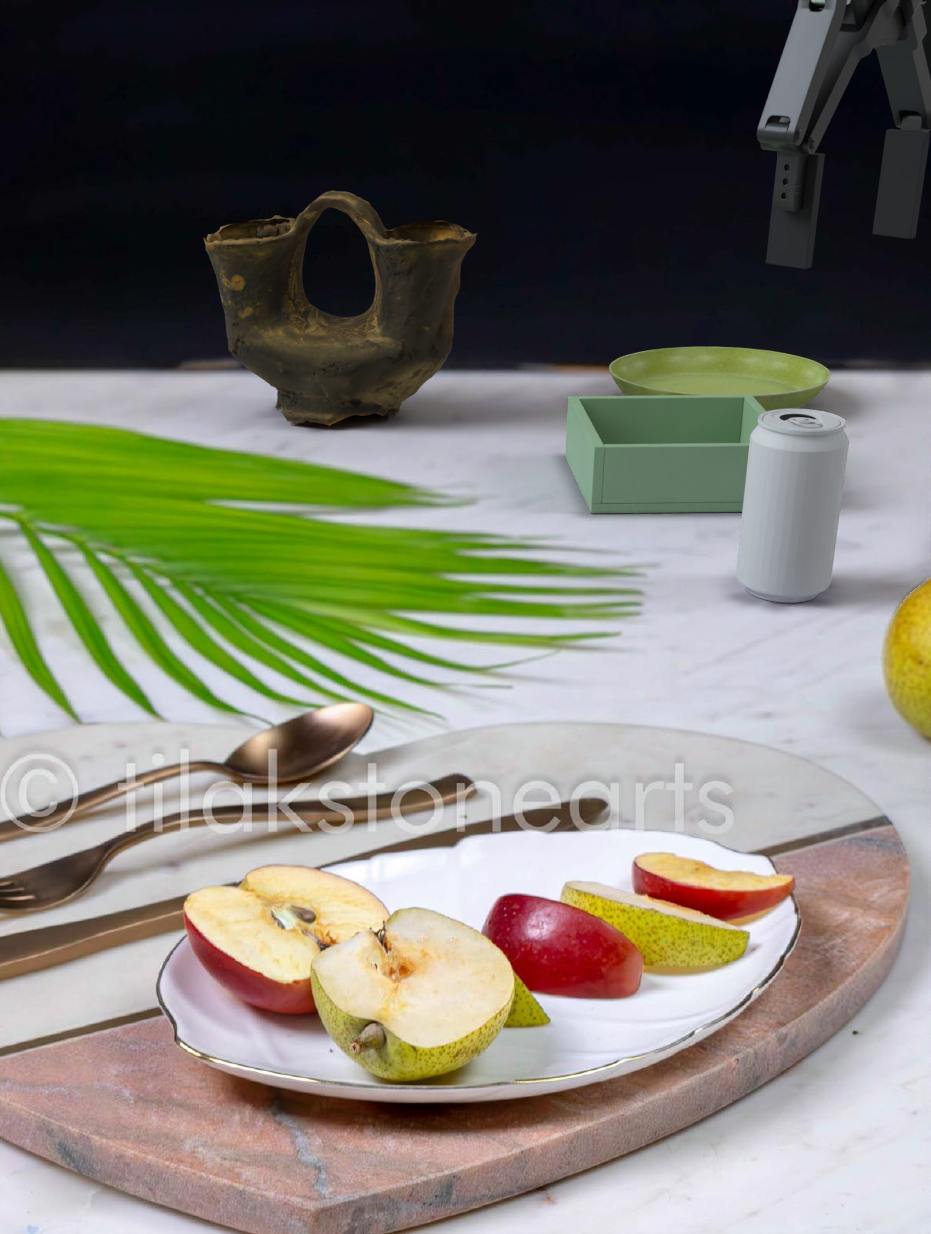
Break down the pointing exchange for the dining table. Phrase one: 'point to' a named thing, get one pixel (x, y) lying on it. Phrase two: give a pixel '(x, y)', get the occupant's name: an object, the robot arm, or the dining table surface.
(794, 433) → the beverage can
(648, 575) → the dining table surface
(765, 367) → the saucer
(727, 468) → the bin
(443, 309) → the pottery vessel
